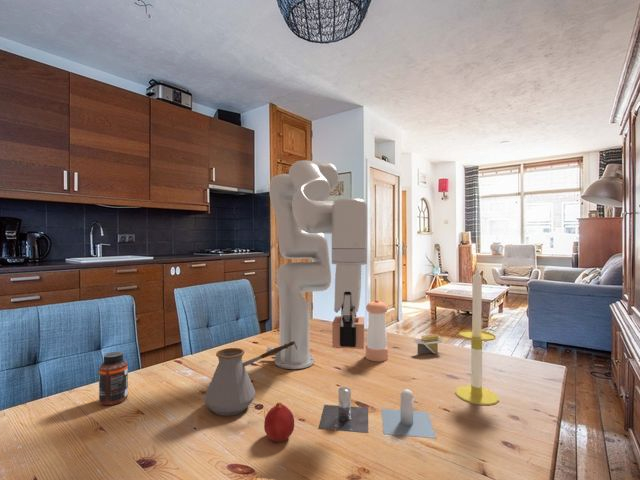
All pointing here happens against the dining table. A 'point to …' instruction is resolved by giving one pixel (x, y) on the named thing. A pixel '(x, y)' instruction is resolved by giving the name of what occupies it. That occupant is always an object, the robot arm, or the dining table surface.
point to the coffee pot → (233, 381)
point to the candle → (476, 351)
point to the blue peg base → (407, 419)
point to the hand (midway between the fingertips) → (348, 340)
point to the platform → (428, 344)
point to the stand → (344, 415)
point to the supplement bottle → (113, 379)
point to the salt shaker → (376, 332)
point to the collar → (359, 333)
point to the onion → (279, 423)
